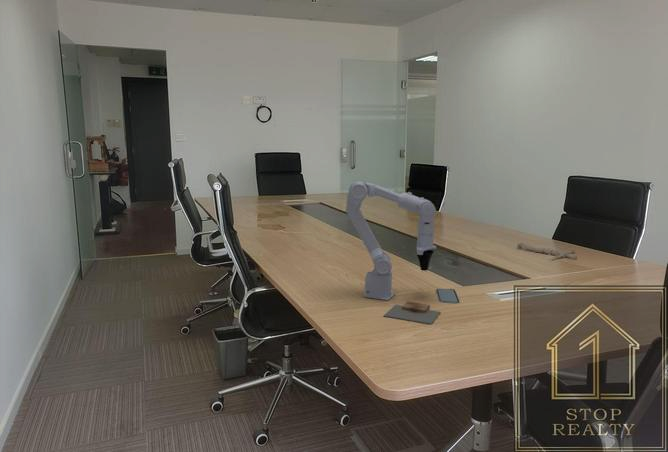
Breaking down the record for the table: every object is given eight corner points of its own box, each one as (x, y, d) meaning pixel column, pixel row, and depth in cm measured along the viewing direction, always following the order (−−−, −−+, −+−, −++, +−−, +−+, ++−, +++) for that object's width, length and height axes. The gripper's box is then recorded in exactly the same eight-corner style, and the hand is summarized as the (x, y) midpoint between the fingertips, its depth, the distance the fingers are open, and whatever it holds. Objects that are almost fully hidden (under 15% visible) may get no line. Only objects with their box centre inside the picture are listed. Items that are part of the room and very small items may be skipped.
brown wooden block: (407, 305, 174) (401, 310, 169) (407, 301, 174) (402, 306, 169) (429, 309, 171) (425, 314, 165) (429, 304, 170) (425, 310, 165)
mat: (383, 316, 164) (383, 315, 164) (395, 305, 175) (395, 304, 175) (431, 324, 158) (431, 323, 158) (440, 312, 168) (440, 311, 168)
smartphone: (439, 301, 179) (435, 288, 193) (439, 304, 179) (435, 290, 193) (460, 302, 178) (455, 289, 192) (460, 305, 178) (454, 291, 193)
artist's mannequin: (505, 254, 257) (562, 268, 234) (505, 246, 256) (563, 259, 234) (532, 245, 274) (588, 257, 252) (532, 237, 273) (589, 249, 251)
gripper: (431, 238, 172) (429, 276, 174) (441, 231, 185) (439, 266, 187) (411, 236, 175) (410, 273, 177) (422, 229, 188) (421, 264, 190)
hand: (424, 270), depth 183 cm, fingers closed
